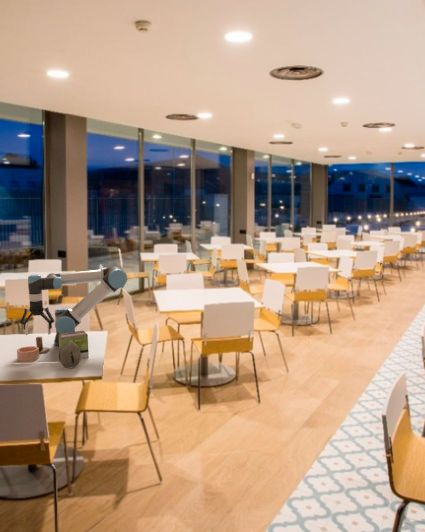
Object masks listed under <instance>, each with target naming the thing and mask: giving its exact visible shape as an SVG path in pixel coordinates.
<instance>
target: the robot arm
mask: <svg viewBox="0 0 425 532" xmlns="http://www.w3.org/2000/svg"><path fill="white" fill-rule="evenodd" d="M99 282H100V283H99ZM127 282H128V275H127V272H125V270H124V269H123V268H122V267H120V266H115V265H114V266H108V267H101V269H95V270H85V271H84V270H83V271H72V272H60V273H54V272H51V273H48V274H47V275H46V277H42V275H41V274H30V275H29V276H28V277H27V285H28V286H27V287H28V298H29V299H28V300H29V308H28V307H26V308H24V312H23V314H22V316H21V319H20V322H19V324H22V325H23V330H24V331H25V332H24V333H25V335H26V336H28V335H29V326H28V325H29V324H28V321H29V320H30V319H31V318H32V317H33V316H39V317H40V316H41V317H42V318H43V319H44V320H45V321H46V322H47V334H48V335H51V330H52V329H53V326H52V324H54V327H55V330H56V331H55V332H56V333H55V337H54V341H53V343H54V344H53V345H54V346H56V347H59V334H61V333H69V332H76V327H78V326H79V325H80V324H81V323H82V319H83V318H84V317H85V316H86V315H87V314H89V312H91V310H93V309H94V308H95V307H96V306H97V305H99V304H100V303H101V302H102V301H103V300H104V299H105V298H106V297H107V296H108V295H110V294H111V293H116V292H117V291H118V290H119V289H121V288H124V287H125V285H126V284H127ZM88 283H89V284H90V283H99V284H97V285H96V287H94V288H93V289H92V290H91V291H90V292H89V293H88V294H87V295H86V296H84V297H83V298H82V299H81V300H80V301H78V302H77V304H75V305H74V306H73V307H65V308H57V309H55V310H54V317H53V315H52V314H51V312H50V309H49V307H44V306H43V305H44V301H43V291H50V290H51V291H52V290H61V289H62V288H63V286H65V285H74V284H75V285H76V284H77V285H78V284H88ZM28 312H29V313H30V314H29V315H28V316H27V314H28ZM26 317H27V318H26Z"/></svg>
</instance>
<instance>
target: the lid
mask: <svg viewBox="0 0 425 532" xmlns="http://www.w3.org/2000/svg"><path fill="white" fill-rule="evenodd" d="M35 343H36V344H35V345H36V347H38V348H39V355H44V354H43V353H46V352H48V353H49V352H50V351H51V350H49V348H50V347H44V345H43V336H36V337H35Z"/></svg>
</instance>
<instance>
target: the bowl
mask: <svg viewBox="0 0 425 532" xmlns="http://www.w3.org/2000/svg"><path fill="white" fill-rule="evenodd" d="M16 358H17V361H19V362H32V361H35V360H38V359H39V358H40V354H39V348H38V347H37V346H34V345H31V346H30V345H29V346H22V347H20V348H18V349H16Z"/></svg>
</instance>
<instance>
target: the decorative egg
mask: <svg viewBox="0 0 425 532" xmlns="http://www.w3.org/2000/svg"><path fill="white" fill-rule="evenodd" d="M80 358H81V354H80V350H79V348H78V346H77V345H76V344H75V343H74V342H70V341H69V342H65V343H64V344H63V345H62V346H61V348H60V351H58V359H59V362H60V364H61V365H62V367H64V368H66V369H73V368H75V367H77V366H78V365H79V363H80V362H81V359H80Z"/></svg>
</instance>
